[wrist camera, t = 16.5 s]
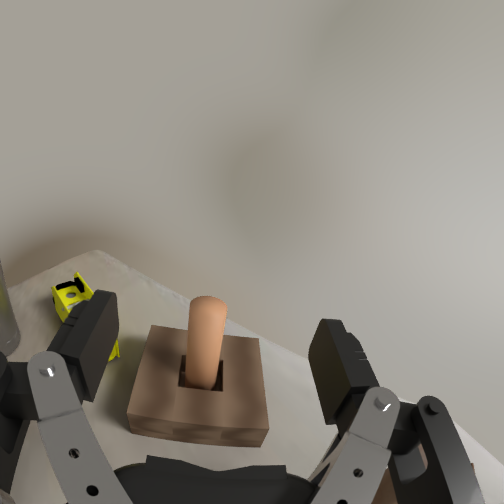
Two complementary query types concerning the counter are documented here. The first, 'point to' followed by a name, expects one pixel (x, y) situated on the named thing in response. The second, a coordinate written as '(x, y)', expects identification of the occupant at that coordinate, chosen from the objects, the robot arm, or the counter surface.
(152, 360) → the socket block
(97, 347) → the robot arm
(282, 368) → the counter surface
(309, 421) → the counter surface
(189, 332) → the pin
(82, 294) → the yellow toy chassis
